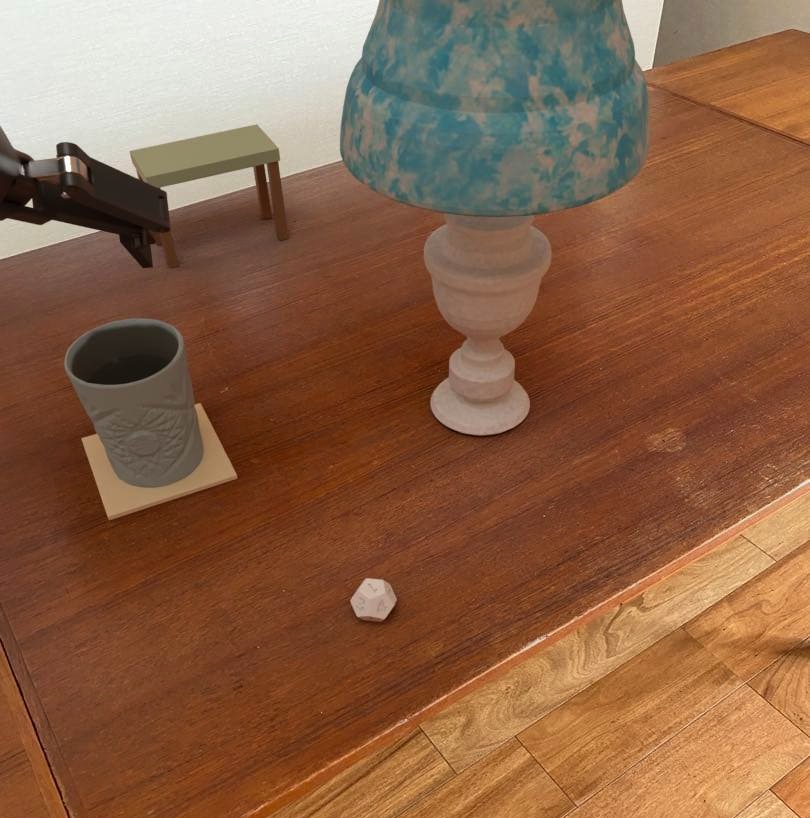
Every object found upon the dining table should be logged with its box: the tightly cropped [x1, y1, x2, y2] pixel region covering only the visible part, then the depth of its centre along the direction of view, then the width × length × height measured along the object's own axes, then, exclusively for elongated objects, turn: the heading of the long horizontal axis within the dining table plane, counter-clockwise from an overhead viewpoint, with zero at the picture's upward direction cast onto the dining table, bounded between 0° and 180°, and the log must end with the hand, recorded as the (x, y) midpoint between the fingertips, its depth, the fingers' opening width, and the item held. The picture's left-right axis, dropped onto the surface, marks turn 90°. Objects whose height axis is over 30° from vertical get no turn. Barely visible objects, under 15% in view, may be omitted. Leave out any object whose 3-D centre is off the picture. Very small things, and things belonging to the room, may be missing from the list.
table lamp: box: [339, 0, 651, 437], centre depth 72 cm, size 24×24×40 cm
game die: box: [349, 577, 398, 623], centre depth 68 cm, size 4×4×3 cm
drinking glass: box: [63, 317, 204, 488], centre depth 78 cm, size 10×10×12 cm
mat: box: [80, 402, 238, 521], centre depth 82 cm, size 12×12×1 cm
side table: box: [129, 124, 289, 269], centre depth 107 cm, size 8×16×12 cm, turn 115°
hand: (54, 257), depth 65 cm, fingers open, 13 cm apart
